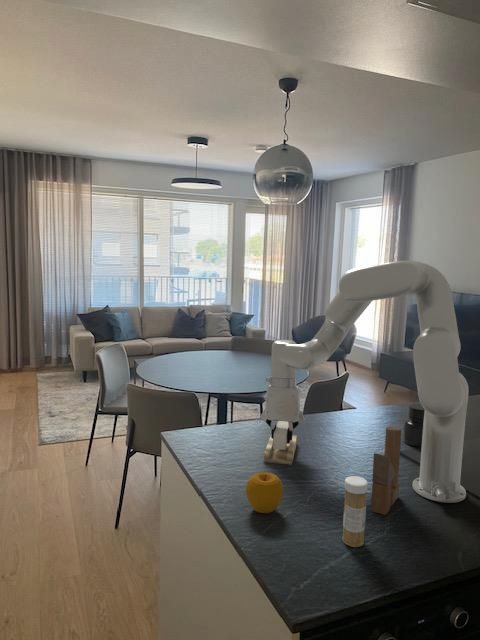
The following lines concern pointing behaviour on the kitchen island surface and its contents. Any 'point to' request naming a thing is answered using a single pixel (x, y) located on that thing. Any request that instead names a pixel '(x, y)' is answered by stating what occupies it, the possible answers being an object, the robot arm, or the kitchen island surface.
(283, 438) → the strip
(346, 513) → the sprinkles bottle
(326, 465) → the kitchen island surface
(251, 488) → the apple
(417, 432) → the ink bottle
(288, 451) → the rack
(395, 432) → the stepped wooden upright
